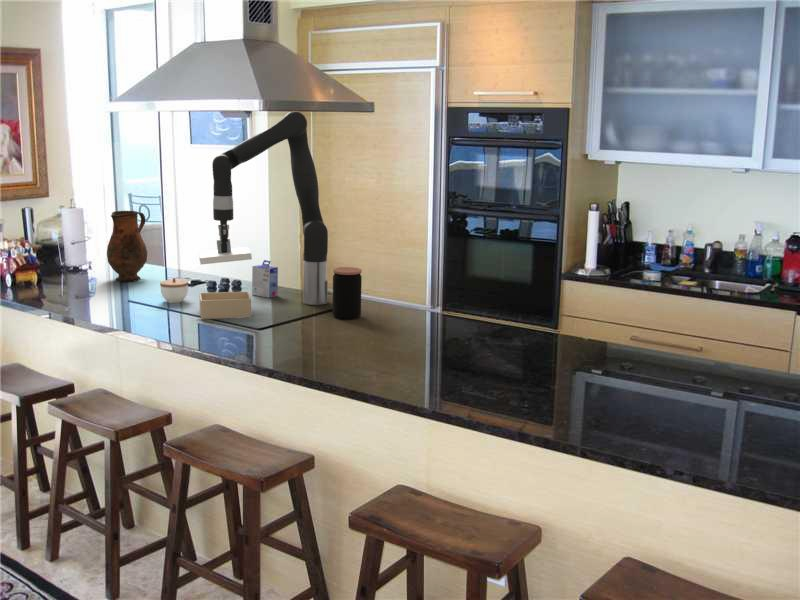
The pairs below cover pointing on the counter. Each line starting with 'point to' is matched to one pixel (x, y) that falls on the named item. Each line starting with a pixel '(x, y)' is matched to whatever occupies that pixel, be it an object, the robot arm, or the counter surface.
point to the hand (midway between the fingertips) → (224, 252)
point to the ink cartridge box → (265, 280)
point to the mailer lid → (224, 254)
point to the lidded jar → (174, 290)
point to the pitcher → (127, 246)
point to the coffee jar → (347, 293)
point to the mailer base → (225, 305)
